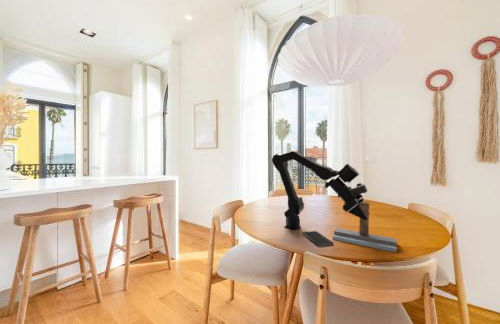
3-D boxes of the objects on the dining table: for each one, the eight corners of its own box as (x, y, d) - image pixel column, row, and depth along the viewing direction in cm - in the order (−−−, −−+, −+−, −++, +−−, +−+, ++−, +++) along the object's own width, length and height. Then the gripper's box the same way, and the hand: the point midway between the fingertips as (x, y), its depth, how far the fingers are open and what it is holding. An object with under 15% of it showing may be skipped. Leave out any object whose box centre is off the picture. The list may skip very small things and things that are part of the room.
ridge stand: (332, 239, 100) (332, 232, 100) (337, 232, 109) (337, 226, 109) (396, 252, 87) (396, 245, 87) (396, 243, 96) (396, 236, 96)
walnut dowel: (360, 235, 97) (360, 203, 96) (358, 232, 100) (359, 201, 100) (369, 236, 96) (370, 204, 95) (367, 233, 99) (368, 202, 98)
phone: (317, 245, 93) (301, 232, 107) (317, 247, 93) (301, 234, 107) (334, 243, 94) (316, 230, 109) (334, 246, 94) (316, 233, 109)
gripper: (351, 180, 91) (382, 210, 86) (358, 175, 107) (384, 201, 101) (331, 197, 96) (359, 227, 90) (340, 190, 111) (364, 216, 106)
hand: (367, 217), depth 97 cm, fingers open, 9 cm apart
